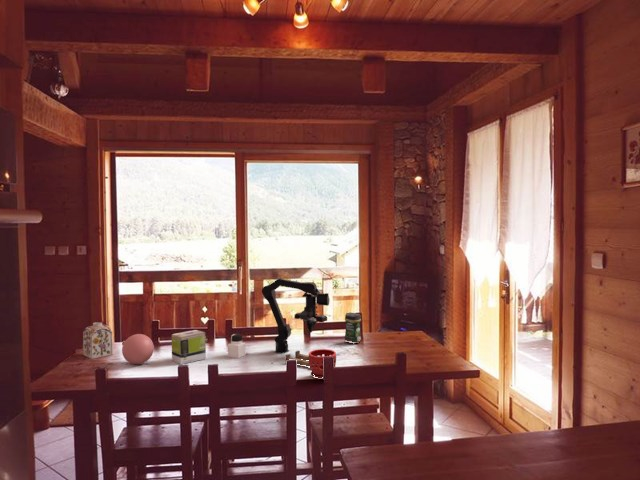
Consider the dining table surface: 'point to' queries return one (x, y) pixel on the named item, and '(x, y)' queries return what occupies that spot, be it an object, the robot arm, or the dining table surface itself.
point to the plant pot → (319, 361)
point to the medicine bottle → (236, 347)
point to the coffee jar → (352, 327)
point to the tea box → (188, 346)
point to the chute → (299, 357)
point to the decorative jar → (97, 341)
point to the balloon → (137, 349)
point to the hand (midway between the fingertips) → (310, 332)
